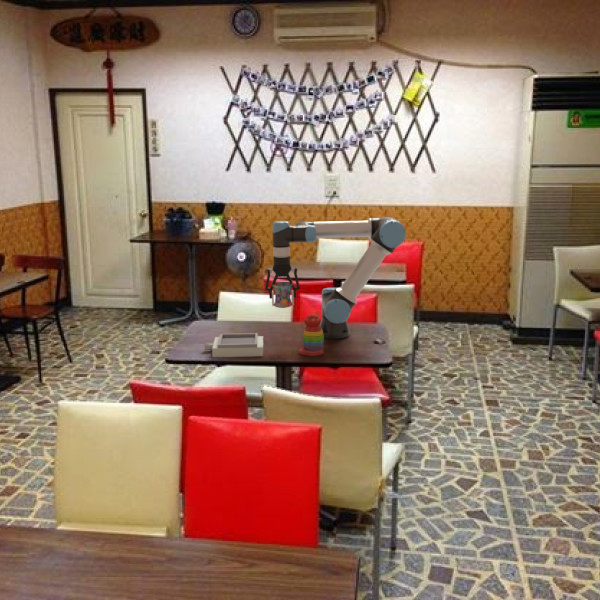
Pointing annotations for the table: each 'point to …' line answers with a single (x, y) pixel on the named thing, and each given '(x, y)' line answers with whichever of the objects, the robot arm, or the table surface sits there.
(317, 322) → the stacking bear
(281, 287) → the mug
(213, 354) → the open box
